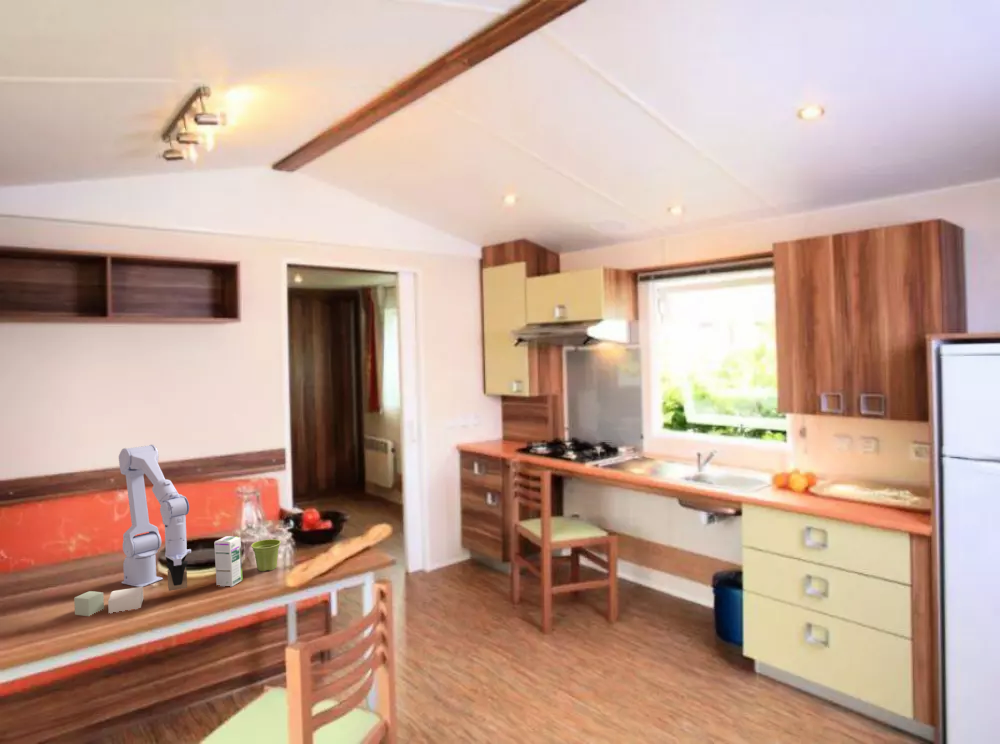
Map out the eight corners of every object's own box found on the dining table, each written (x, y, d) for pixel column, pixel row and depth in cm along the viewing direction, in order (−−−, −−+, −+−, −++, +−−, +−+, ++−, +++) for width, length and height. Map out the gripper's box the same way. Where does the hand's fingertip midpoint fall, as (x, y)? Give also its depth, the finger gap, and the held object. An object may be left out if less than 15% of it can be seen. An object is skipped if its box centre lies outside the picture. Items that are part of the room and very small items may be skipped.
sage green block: (74, 614, 184) (74, 597, 183) (90, 607, 188) (89, 591, 188) (89, 616, 182) (88, 599, 182) (104, 609, 187) (103, 592, 187)
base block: (112, 604, 191) (112, 591, 191) (143, 599, 194) (142, 586, 194) (108, 614, 184) (108, 600, 184) (140, 609, 187) (140, 595, 187)
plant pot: (268, 574, 213) (267, 548, 213) (246, 571, 216) (245, 546, 216) (287, 565, 222) (286, 540, 221) (265, 562, 225) (264, 538, 225)
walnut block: (168, 585, 197) (167, 569, 196) (186, 582, 199) (185, 566, 199) (168, 590, 192) (168, 574, 192) (187, 587, 195) (186, 571, 194)
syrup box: (232, 587, 202) (230, 541, 202) (215, 586, 204) (213, 540, 203) (243, 580, 208) (241, 536, 207) (226, 579, 209) (225, 535, 209)
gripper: (192, 541, 190) (193, 587, 191) (188, 529, 203) (190, 572, 204) (165, 545, 187) (166, 591, 188) (163, 533, 200) (165, 576, 200)
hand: (177, 581), depth 196 cm, fingers closed on walnut block, 5 cm apart
